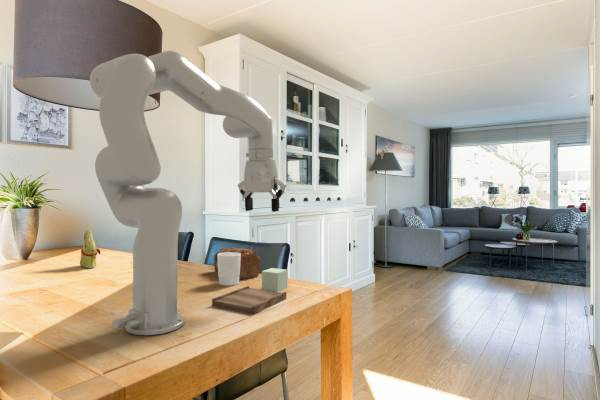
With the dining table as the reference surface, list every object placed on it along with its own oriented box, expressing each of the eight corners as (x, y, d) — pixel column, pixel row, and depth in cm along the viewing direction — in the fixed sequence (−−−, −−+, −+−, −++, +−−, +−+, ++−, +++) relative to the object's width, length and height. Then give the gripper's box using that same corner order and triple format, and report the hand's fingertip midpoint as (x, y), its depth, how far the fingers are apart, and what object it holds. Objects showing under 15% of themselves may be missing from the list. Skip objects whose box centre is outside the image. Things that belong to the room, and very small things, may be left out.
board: (254, 314, 94) (254, 306, 94) (212, 305, 101) (212, 298, 101) (286, 298, 108) (286, 292, 108) (247, 292, 115) (247, 286, 115)
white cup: (235, 287, 121) (235, 256, 121) (213, 285, 123) (213, 255, 123) (244, 281, 129) (244, 252, 129) (222, 280, 130) (222, 251, 130)
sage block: (277, 292, 115) (277, 273, 115) (261, 289, 118) (261, 271, 118) (287, 288, 121) (287, 269, 121) (271, 285, 124) (271, 267, 123)
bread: (260, 277, 136) (261, 250, 136) (234, 281, 130) (234, 252, 130) (237, 268, 151) (237, 244, 151) (212, 271, 145) (212, 246, 145)
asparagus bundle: (85, 270, 144) (85, 231, 144) (77, 266, 152) (77, 229, 151) (104, 267, 149) (104, 230, 148) (95, 263, 157) (95, 228, 156)
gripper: (230, 156, 115) (232, 211, 116) (278, 153, 107) (279, 212, 108) (245, 157, 122) (246, 209, 123) (291, 155, 114) (292, 210, 115)
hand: (262, 210), depth 116 cm, fingers open, 9 cm apart
